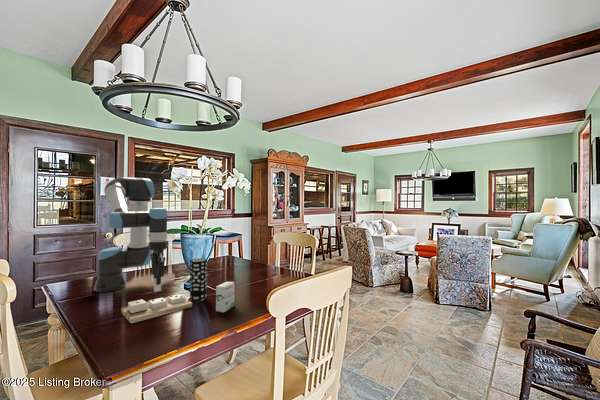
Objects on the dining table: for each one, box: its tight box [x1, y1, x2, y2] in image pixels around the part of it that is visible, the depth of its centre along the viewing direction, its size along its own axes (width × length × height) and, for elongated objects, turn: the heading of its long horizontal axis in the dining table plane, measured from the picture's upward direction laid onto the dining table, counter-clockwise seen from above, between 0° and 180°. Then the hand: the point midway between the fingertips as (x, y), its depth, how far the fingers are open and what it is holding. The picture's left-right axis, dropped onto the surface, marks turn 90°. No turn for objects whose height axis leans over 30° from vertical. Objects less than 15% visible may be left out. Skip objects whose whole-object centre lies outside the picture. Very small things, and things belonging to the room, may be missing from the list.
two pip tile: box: [148, 297, 167, 309], centre depth 129 cm, size 6×6×3 cm
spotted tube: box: [189, 258, 208, 302], centre depth 144 cm, size 8×8×20 cm
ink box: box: [215, 281, 236, 313], centre depth 131 cm, size 9×5×12 cm, turn 158°
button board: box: [120, 296, 193, 324], centre depth 129 cm, size 16×26×2 cm, turn 135°
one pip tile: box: [127, 299, 148, 314], centre depth 123 cm, size 6×6×3 cm
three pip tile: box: [167, 293, 186, 305], centre depth 135 cm, size 6×6×3 cm
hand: (157, 290), depth 130 cm, fingers closed
